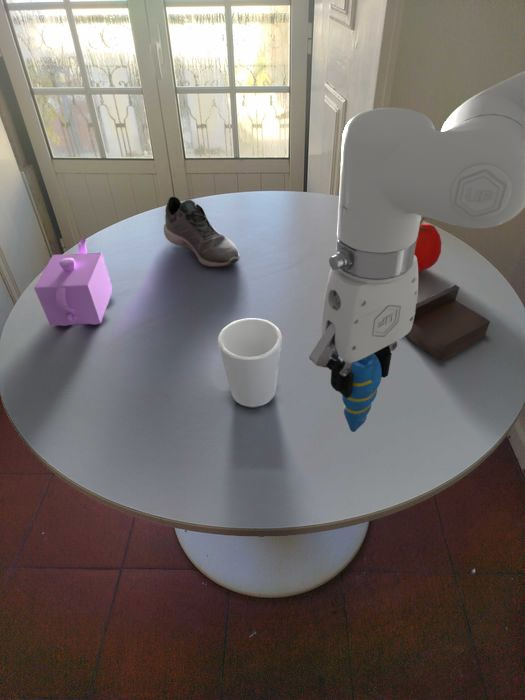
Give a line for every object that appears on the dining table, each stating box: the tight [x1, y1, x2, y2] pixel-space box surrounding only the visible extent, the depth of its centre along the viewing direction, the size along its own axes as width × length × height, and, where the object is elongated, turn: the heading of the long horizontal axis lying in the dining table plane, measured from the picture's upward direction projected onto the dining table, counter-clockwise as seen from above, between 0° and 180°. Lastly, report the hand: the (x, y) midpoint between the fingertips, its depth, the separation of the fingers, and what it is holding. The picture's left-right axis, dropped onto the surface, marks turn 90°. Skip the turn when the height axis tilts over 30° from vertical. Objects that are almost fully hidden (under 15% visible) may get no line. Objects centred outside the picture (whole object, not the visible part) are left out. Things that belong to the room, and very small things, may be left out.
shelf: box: [405, 284, 491, 363], centre depth 87 cm, size 9×12×7 cm
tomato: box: [414, 216, 442, 273], centre depth 104 cm, size 12×12×11 cm
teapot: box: [33, 238, 114, 327], centre depth 96 cm, size 20×10×12 cm, turn 2°
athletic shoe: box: [163, 196, 241, 268], centre depth 113 cm, size 10×26×12 cm, turn 39°
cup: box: [217, 317, 283, 410], centre depth 76 cm, size 10×10×13 cm
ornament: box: [340, 353, 383, 433], centre depth 59 cm, size 5×5×15 cm
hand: (359, 379), depth 58 cm, fingers closed on ornament, 5 cm apart
